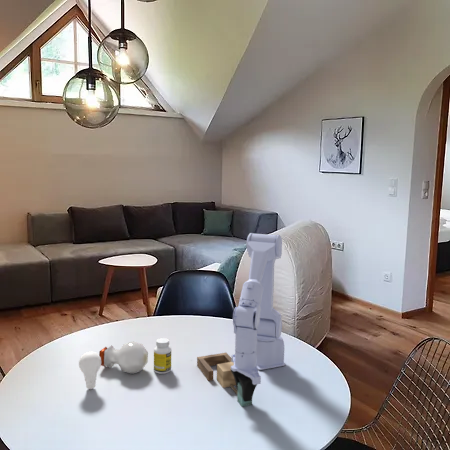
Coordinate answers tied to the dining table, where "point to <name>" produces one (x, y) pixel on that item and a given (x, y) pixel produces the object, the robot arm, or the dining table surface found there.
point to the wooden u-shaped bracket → (211, 363)
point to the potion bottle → (125, 357)
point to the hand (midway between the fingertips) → (244, 397)
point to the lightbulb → (90, 367)
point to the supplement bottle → (162, 356)
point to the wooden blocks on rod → (230, 381)
